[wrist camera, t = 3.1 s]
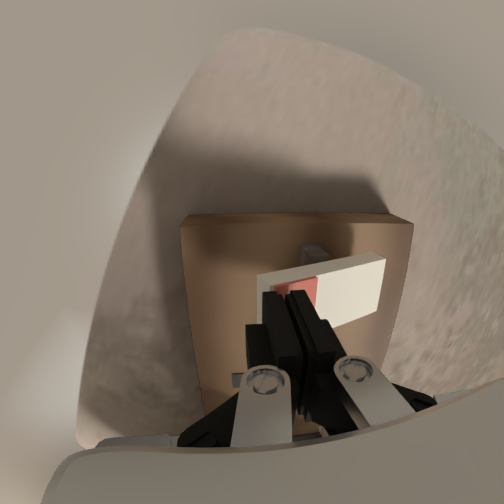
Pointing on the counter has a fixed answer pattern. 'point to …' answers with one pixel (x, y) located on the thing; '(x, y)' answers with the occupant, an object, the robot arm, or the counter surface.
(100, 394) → the counter surface
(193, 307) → the console
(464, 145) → the counter surface
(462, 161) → the counter surface
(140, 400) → the counter surface
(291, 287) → the block
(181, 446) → the robot arm
